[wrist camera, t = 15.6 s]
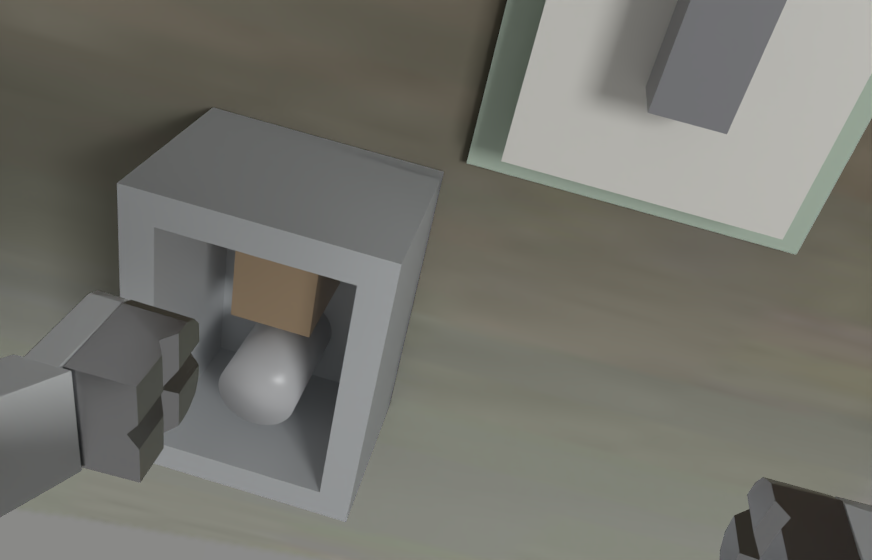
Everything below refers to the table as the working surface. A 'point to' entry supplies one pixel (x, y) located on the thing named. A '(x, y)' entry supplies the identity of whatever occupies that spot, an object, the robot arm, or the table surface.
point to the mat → (488, 153)
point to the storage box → (279, 297)
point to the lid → (693, 100)
